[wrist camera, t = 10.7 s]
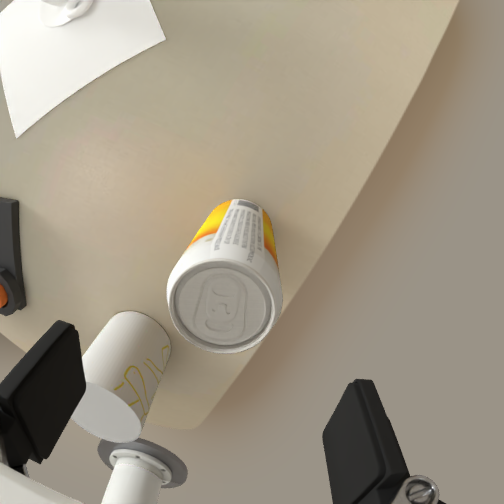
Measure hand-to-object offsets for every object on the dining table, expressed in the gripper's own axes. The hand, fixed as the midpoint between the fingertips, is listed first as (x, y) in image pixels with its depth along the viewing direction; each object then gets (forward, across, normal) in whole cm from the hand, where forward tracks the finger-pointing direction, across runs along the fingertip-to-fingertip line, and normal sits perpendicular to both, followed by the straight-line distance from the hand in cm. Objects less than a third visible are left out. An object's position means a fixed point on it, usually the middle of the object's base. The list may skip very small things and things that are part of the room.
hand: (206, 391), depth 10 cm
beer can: (+21, 0, 0) cm, 21 cm away
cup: (+21, +9, +16) cm, 28 cm away
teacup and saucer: (+21, +24, -20) cm, 38 cm away
